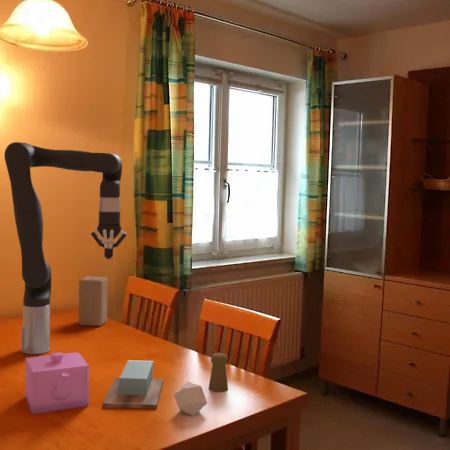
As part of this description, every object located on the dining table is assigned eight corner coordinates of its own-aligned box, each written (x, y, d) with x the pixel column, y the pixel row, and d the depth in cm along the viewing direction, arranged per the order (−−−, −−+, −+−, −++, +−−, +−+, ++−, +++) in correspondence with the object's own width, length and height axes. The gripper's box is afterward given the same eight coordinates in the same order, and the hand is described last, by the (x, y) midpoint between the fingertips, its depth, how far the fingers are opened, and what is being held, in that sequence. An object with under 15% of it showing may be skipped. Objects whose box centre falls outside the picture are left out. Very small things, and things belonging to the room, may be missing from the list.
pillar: (127, 375, 181) (119, 394, 165) (128, 360, 180) (119, 378, 164) (152, 376, 181) (146, 395, 165) (153, 361, 180) (146, 378, 164)
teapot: (36, 425, 146) (36, 372, 145) (22, 391, 168) (23, 345, 167) (94, 416, 153) (95, 365, 152) (74, 384, 175) (75, 340, 174)
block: (107, 321, 250) (108, 276, 249) (100, 327, 240) (101, 280, 239) (85, 319, 251) (86, 275, 250) (77, 325, 241) (78, 279, 240)
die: (212, 414, 158) (205, 380, 162) (203, 410, 150) (196, 374, 155) (185, 422, 159) (179, 388, 163) (174, 418, 151) (168, 382, 156)
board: (102, 407, 158) (102, 403, 158) (115, 381, 178) (115, 377, 178) (156, 408, 158) (156, 404, 158) (162, 382, 178) (162, 379, 178)
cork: (231, 387, 177) (232, 352, 176) (223, 393, 171) (224, 358, 170) (213, 383, 179) (215, 349, 178) (205, 389, 174) (206, 355, 173)
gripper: (88, 210, 196) (87, 259, 197) (126, 211, 196) (125, 260, 198) (93, 209, 203) (92, 256, 205) (129, 210, 204) (128, 257, 205)
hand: (108, 258), depth 201 cm, fingers closed
